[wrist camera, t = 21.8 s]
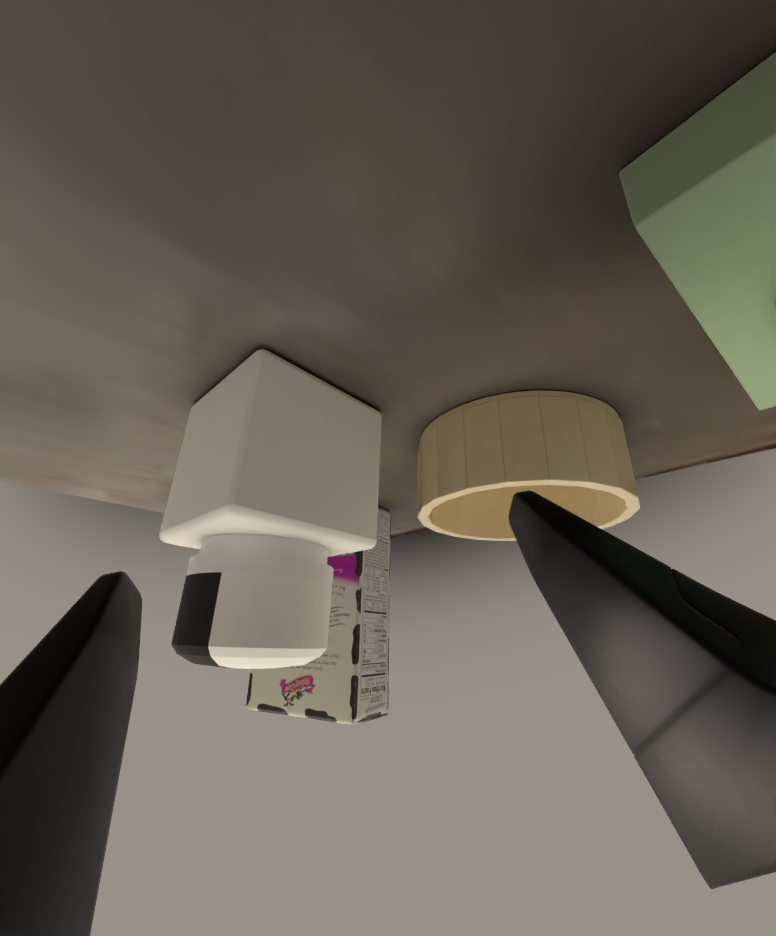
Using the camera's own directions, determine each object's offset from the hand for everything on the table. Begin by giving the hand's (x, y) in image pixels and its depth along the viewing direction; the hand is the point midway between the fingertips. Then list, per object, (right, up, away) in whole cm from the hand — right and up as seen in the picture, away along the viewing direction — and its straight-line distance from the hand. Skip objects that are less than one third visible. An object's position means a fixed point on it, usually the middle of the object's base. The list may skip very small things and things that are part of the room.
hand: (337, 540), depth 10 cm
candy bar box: (-4, -2, +29) cm, 29 cm away
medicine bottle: (-4, +5, +12) cm, 13 cm away
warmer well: (+9, +3, +14) cm, 17 cm away
